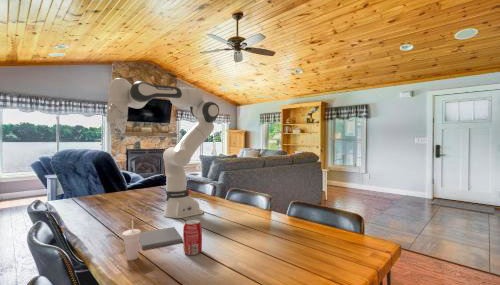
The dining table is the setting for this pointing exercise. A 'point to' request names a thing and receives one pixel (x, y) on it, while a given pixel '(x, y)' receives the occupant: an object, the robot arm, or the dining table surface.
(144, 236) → the gray square slab
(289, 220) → the dining table surface
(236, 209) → the dining table surface
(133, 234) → the smoothie
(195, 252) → the soda can
